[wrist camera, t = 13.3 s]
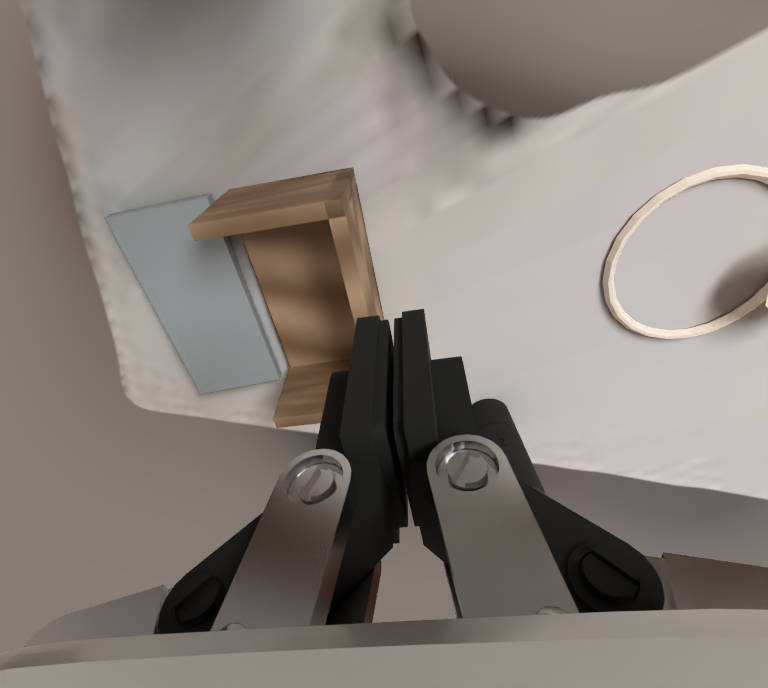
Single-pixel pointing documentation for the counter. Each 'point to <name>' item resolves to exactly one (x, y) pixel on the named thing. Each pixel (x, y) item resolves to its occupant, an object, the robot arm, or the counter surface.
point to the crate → (304, 274)
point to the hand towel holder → (608, 279)
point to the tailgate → (197, 294)
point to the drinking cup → (505, 439)
